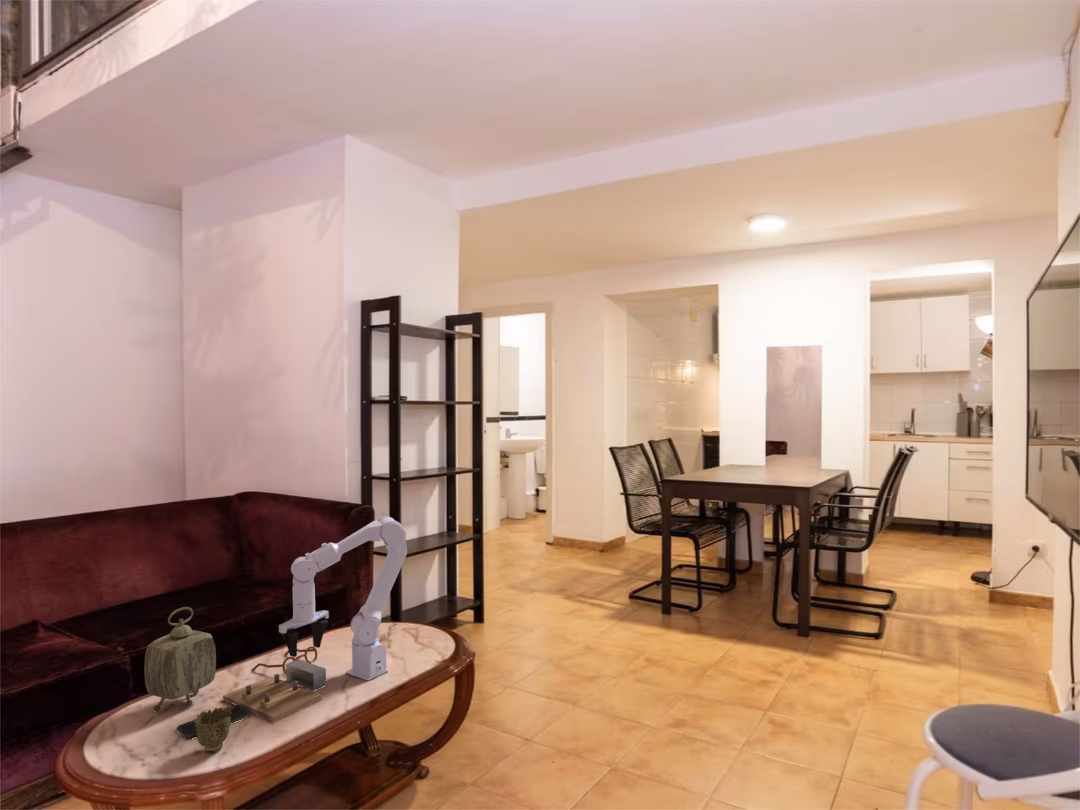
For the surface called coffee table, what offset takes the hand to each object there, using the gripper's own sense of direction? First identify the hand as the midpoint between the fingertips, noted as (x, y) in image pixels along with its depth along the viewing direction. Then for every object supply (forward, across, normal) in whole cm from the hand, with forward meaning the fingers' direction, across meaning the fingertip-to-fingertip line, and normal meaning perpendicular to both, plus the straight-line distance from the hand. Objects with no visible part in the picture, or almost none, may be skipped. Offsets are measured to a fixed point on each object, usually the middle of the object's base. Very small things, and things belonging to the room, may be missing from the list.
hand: (305, 651), depth 183 cm
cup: (+9, +33, +12) cm, 36 cm away
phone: (+10, +26, 0) cm, 28 cm away
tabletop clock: (+9, +25, -16) cm, 31 cm away
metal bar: (+9, 0, 0) cm, 9 cm away
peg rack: (+9, +11, +1) cm, 14 cm away
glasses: (+10, -5, -16) cm, 20 cm away
